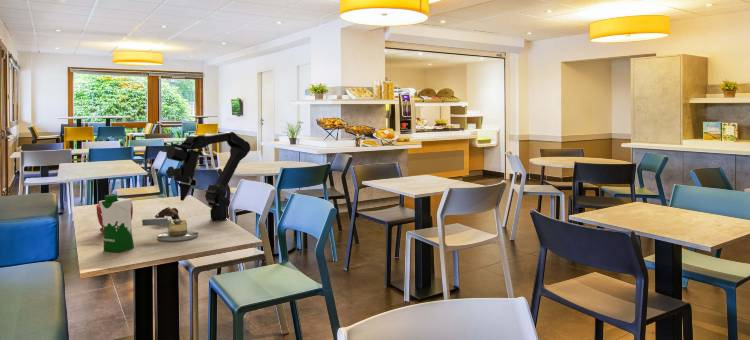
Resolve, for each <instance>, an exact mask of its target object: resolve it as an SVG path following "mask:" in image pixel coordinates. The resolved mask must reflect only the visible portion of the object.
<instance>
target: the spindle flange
mask: <svg viewBox="0 0 750 340" xmlns="http://www.w3.org/2000/svg"><path fill="white" fill-rule="evenodd" d="M181 220H182V219H176V220H173V222H174V223H175V224H178V223H179V222H181ZM198 237H199V232H198V231H196V230H191V229H187V234H184V235H176V236H173V235H168V231H165V232H161V233H158V235H157V237H156V238H157V241H159V242H164V243H178V242H186V241H191V240H194V239H197V238H198Z"/></svg>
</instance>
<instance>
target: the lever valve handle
mask: <svg viewBox="0 0 750 340" xmlns="http://www.w3.org/2000/svg"><path fill="white" fill-rule="evenodd" d="M141 222H142V224H141V225H142V227H148V226H163V228H167V232H168V235H173V236H176V235H184V234H187V230H188V222H187V219H181V222H179V223H178V224H175V223H174V222H173V220H172V218H170V219H169V218H168V217H164V218H154V217H151V218H142V220H141Z"/></svg>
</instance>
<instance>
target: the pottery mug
mask: <svg viewBox="0 0 750 340" xmlns="http://www.w3.org/2000/svg"><path fill="white" fill-rule="evenodd" d="M154 217H155V218H166V217H169V218H170V217H171V218H170V219H172V220H176V219H180V216H179V209H178V208H176V207H172V208H171V207H170V206H168V207H165V208H164V209H162V210H161V211H158V213H157V214H155V216H154Z"/></svg>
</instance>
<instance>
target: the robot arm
mask: <svg viewBox="0 0 750 340" xmlns="http://www.w3.org/2000/svg"><path fill="white" fill-rule="evenodd" d="M224 142H226V144H227V145H228V146H229V147H230V149H229V153H230V155H229V158H228V160H227V162H226V163H225V166H224V167H223V169H222V171H221V173H220V174H219V176H218V178H217V181H216V182H215V183H213V184H209V185H208V187H207V190H205V195H204V197H205V201H206V202H207V204H208V206H211V208H210V210H209V211H210V219H211V221H212V222H214V221H215V222H216V221H218V220H219V221H227V220H228V215H227V207H229V206H230V204H231V201H230V200H229V199H228V198H227V197H226V196H227V187H228V184H229V183H230V181H231V179H232V177H233V175H234V173H235V172H236V169H237V168H238V166H239V164H240V162H241V161H242V160H243V159H244V158H245V157H247V156H248V154H249V152H250V151H251V144H250V143H249V141H246V140H245V139H244V138H242V137H240V136H239V135H238V134H237V133H235V132H234V131H224V132H221V133H220V132H219V133H213V134H207V135H197V134H196V135H194V134H191V135H187V136H186V138H185V139H184V141H183V142H181V143H180V144H178V143H173V142H172V143H171V144H170V146H169V147H168V149H167V150H166V154H165V155H166V159H168V160H171V161H175V162H180V163H182V164H181V165H180V166H179V167H178V168H174V167H173V166H168V168H167V169H166V170H165V174H166V178H167V179H173V182H176V184H177V185H178V186H179V193H180V198H179V199H180V201H184V200H185V199H186V198H187V196H188V195H189V194H190V193H191V191H192V189H193V188H194V187H197V186H198V183H199V182H198V180H197V179H196V177H195V175H196V171H197V170H198V167H197V165H198V161H199V157H204V153H203V152H202V150H201V149H203V148H206V147H208V146H209V145H211V144H218V143H219V144H220V143H224ZM226 218H227V219H226ZM225 219H226V220H225Z"/></svg>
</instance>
